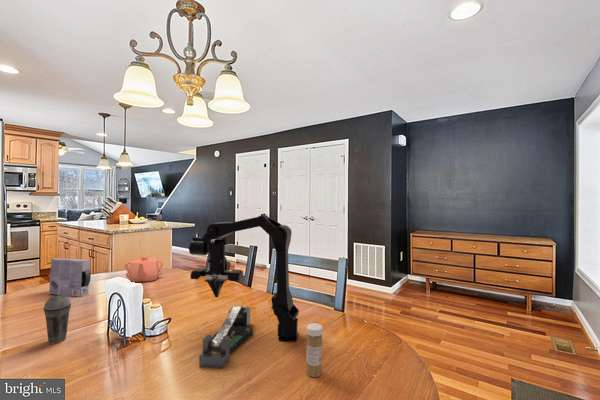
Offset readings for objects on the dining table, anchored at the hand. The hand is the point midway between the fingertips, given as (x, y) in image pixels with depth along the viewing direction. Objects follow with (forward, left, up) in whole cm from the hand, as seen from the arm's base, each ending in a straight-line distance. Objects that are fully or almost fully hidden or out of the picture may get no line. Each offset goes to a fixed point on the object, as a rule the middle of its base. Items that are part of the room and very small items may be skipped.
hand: (216, 297), depth 108 cm
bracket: (-8, +9, -12) cm, 17 cm away
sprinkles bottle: (-38, +23, -12) cm, 46 cm away
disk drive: (-8, +8, -13) cm, 17 cm away
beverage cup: (+50, +15, -12) cm, 54 cm away
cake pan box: (+86, -27, -12) cm, 91 cm away
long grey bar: (-8, +9, -6) cm, 13 cm away
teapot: (+65, -53, -12) cm, 85 cm away
